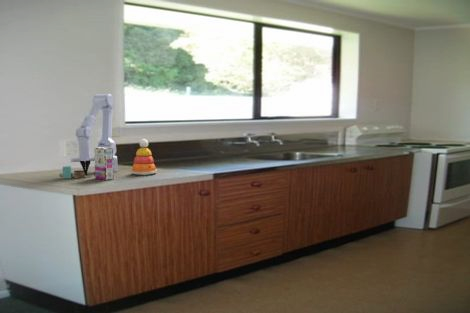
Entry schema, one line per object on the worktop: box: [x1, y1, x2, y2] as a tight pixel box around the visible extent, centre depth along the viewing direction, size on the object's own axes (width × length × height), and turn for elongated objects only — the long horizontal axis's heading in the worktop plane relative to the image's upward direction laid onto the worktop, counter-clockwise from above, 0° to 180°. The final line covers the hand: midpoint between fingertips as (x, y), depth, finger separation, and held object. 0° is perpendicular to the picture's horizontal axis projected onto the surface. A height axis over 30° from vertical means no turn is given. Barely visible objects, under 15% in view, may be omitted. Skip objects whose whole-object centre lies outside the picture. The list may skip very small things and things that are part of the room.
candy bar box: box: [93, 146, 115, 181], centre depth 252 cm, size 11×5×16 cm, turn 45°
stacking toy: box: [130, 138, 158, 176], centre depth 268 cm, size 14×14×20 cm
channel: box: [73, 169, 86, 179], centre depth 260 cm, size 5×7×3 cm
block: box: [62, 165, 72, 179], centre depth 258 cm, size 4×4×6 cm
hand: (85, 174), depth 261 cm, fingers closed
